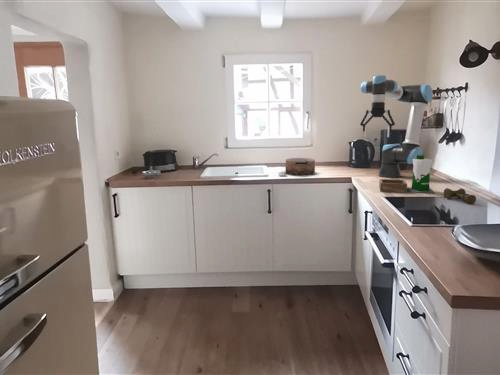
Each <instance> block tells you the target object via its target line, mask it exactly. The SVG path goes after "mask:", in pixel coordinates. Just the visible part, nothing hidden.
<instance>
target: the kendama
mask: <svg viewBox="0 0 500 375" xmlns="http://www.w3.org/2000/svg"><path fill="white" fill-rule="evenodd" d="M443 197H444V199H445V198H447V199H446V200H450V199H452V198H453V197H454V198H455V197H456V198H458V199H461V200H462V201H463V202H465V203H466V204H468V205H473V204H475V203H476V202H477V196H476V195H475V194H469V193H467V192H466V190H465V189H464V188H462V187H461V188H459V189H457V190H452V189H451V188H448V187H446V188H444V189H443Z"/></svg>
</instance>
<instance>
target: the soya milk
mask: <svg viewBox="0 0 500 375" xmlns="http://www.w3.org/2000/svg"><path fill="white" fill-rule="evenodd" d="M433 161H434V160H433V159H431V158H425V155H424V154H422V155H417V158H416V159H413V164H412V165H413V167H412V182H411V187H412V188H411V189H413V190H417V191H429V190H430V189H429V188H430V180H431V179H430V177H431V167H432V164H433Z"/></svg>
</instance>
